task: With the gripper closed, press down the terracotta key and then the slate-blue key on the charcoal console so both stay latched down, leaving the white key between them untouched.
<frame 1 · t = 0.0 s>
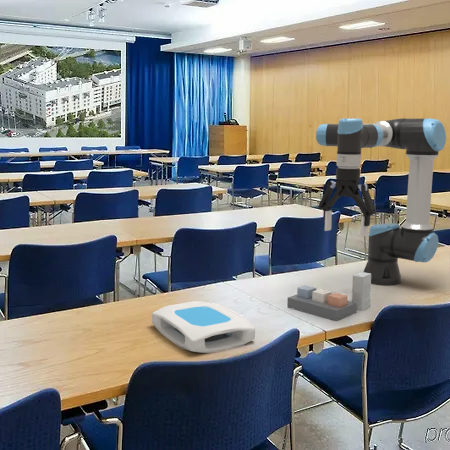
hand: (345, 233, 194), 28 cm above the table, tool pointing down, fingers open, 13 cm apart
skincare box: (360, 308, 208), on the table
terracotta key: (337, 301, 200), point 4 cm above the table, slide at 0.0 cm
slate key: (306, 293, 209), point 4 cm above the table, slide at 0.0 cm
console: (321, 309, 205), on the table
white key: (321, 297, 204), point 4 cm above the table, slide at 0.0 cm
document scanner: (201, 335, 182), on the table
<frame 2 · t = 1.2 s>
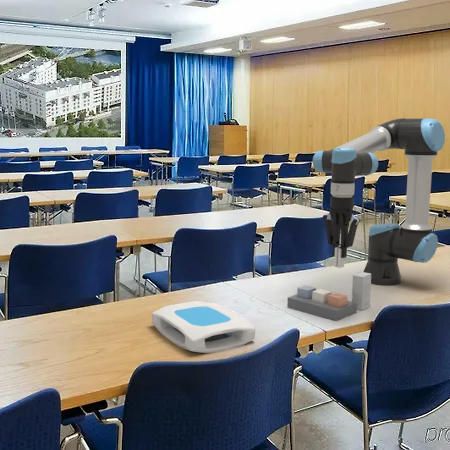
hand: (339, 266, 198), 16 cm above the table, tool pointing down, fingers closed
nothing on the table moved.
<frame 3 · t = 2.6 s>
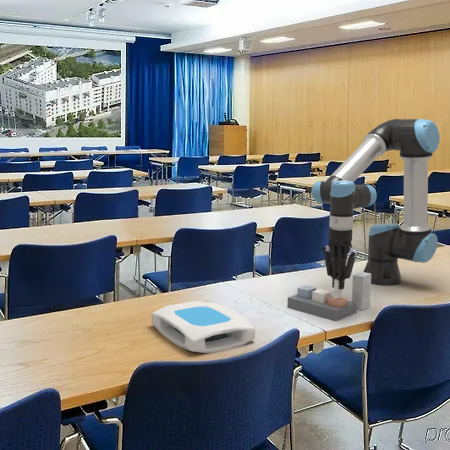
hand: (337, 297, 200), 6 cm above the table, tool pointing down, fingers closed
terracotta key: (337, 304, 200), point 3 cm above the table, slide at 1.1 cm
everything else where it was.
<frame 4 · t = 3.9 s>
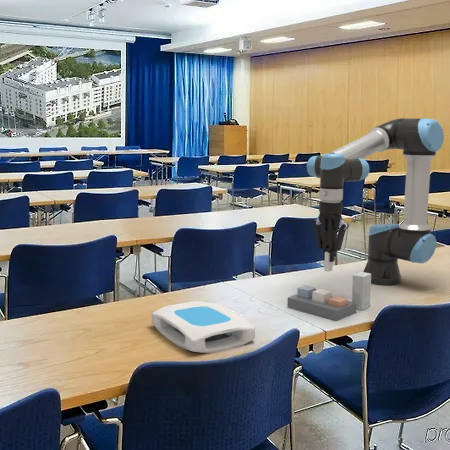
hand: (328, 270, 201), 14 cm above the table, tool pointing down, fingers closed
nothing on the table moved.
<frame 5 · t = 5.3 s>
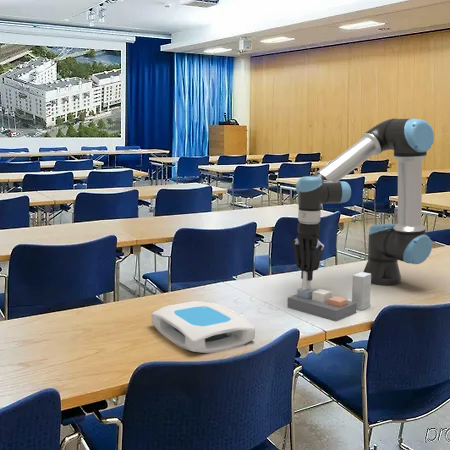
hand: (306, 288, 208), 6 cm above the table, tool pointing down, fingers closed
slate key: (306, 295, 209), point 4 cm above the table, slide at 0.7 cm, touching gripper
everything else where it was.
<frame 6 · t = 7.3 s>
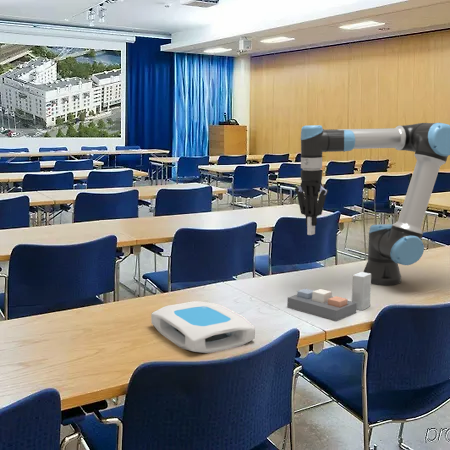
hand: (311, 234, 218), 23 cm above the table, tool pointing down, fingers closed
slate key: (306, 296, 209), point 3 cm above the table, slide at 1.2 cm
everything else where it was.
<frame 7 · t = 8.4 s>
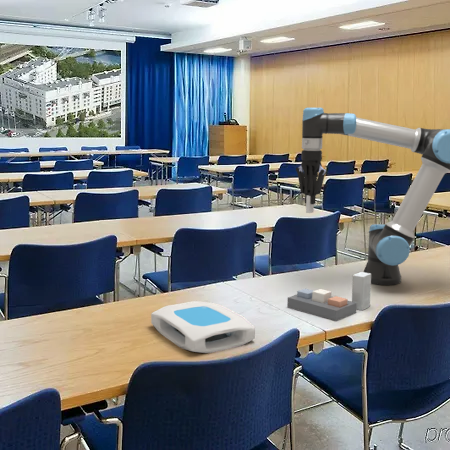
hand: (309, 212, 227), 29 cm above the table, tool pointing down, fingers closed
nothing on the table moved.
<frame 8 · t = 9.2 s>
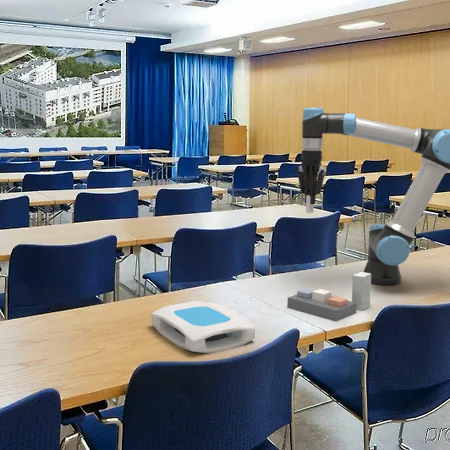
hand: (309, 212, 227), 29 cm above the table, tool pointing down, fingers closed
nothing on the table moved.
at the end: terracotta key slide at 1.2 cm; slate key slide at 1.2 cm; white key slide at 0.0 cm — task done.
